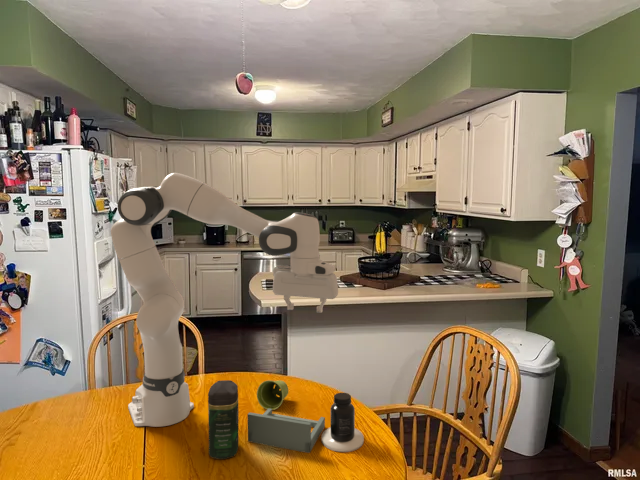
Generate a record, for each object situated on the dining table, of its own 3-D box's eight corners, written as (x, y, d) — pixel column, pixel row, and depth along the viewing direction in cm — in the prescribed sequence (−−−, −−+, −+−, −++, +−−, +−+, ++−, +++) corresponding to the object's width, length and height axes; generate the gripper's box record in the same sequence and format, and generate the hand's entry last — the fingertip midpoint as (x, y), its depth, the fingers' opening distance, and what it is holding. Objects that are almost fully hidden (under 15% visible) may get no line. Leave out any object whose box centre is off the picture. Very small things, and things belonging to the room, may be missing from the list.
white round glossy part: (312, 439, 126) (312, 435, 126) (342, 424, 134) (342, 421, 134) (342, 457, 117) (342, 453, 117) (372, 440, 125) (372, 437, 125)
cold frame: (268, 417, 138) (268, 392, 137) (324, 426, 133) (324, 401, 132) (247, 441, 125) (247, 414, 124) (309, 453, 119) (309, 424, 118)
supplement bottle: (357, 433, 127) (358, 393, 126) (349, 445, 121) (349, 403, 120) (335, 428, 130) (336, 389, 129) (326, 439, 124) (326, 398, 123)
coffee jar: (237, 459, 116) (236, 392, 114) (207, 461, 115) (205, 393, 113) (240, 439, 125) (239, 376, 124) (211, 441, 125) (210, 378, 123)
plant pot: (288, 408, 150) (277, 415, 141) (264, 396, 153) (252, 402, 145) (296, 382, 150) (286, 387, 141) (272, 371, 153) (262, 375, 145)
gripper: (269, 265, 134) (269, 310, 135) (334, 269, 127) (333, 316, 129) (277, 262, 140) (277, 305, 141) (339, 266, 133) (339, 311, 135)
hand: (304, 310), depth 135 cm, fingers open, 8 cm apart
